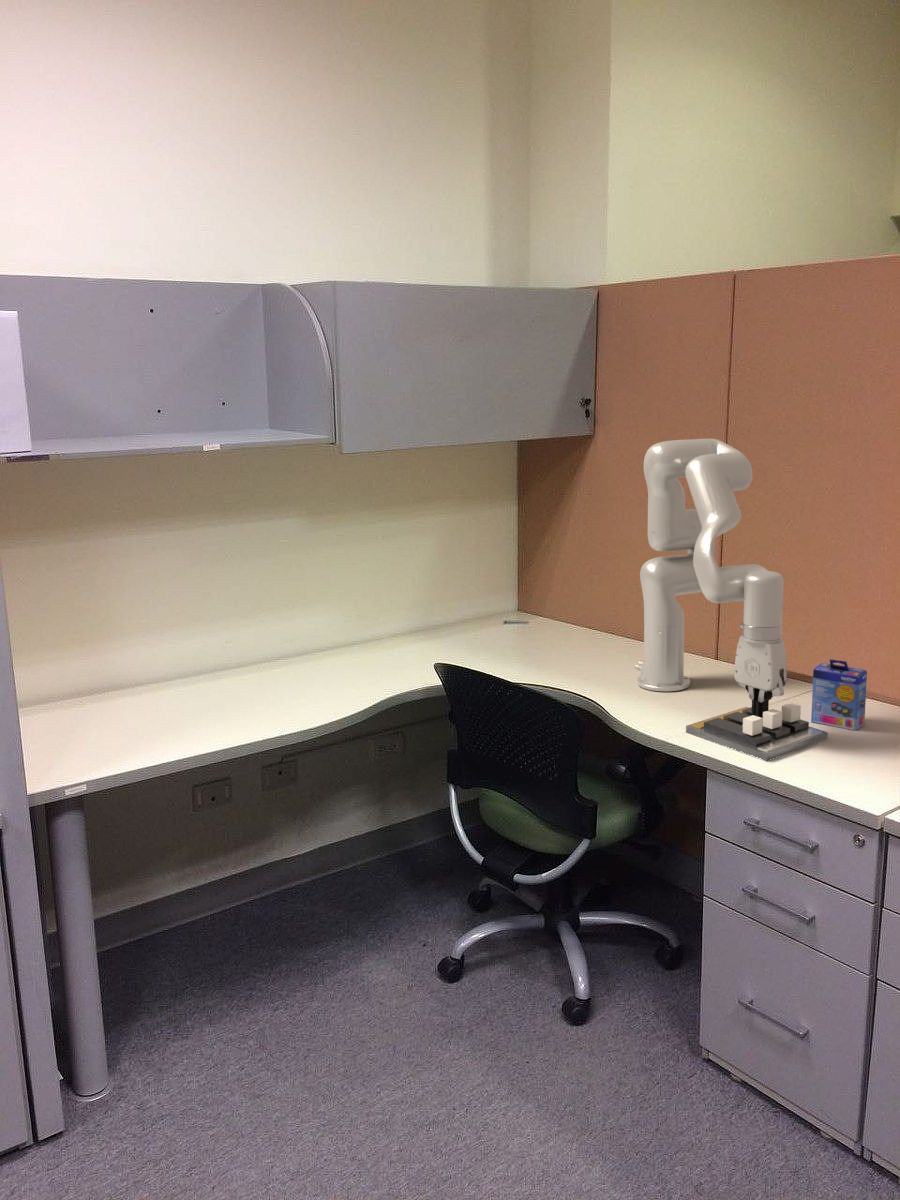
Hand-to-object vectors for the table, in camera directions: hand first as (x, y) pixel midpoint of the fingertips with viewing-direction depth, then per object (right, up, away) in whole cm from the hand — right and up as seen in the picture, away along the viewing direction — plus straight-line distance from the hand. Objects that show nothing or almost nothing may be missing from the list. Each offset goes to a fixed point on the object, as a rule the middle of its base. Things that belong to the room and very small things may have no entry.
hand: (759, 717), depth 209 cm
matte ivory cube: (+2, -1, -2) cm, 3 cm away
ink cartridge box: (+19, -2, +7) cm, 20 cm away
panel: (0, -4, +2) cm, 4 cm away
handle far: (+7, 0, +1) cm, 7 cm away
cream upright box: (-3, -2, -5) cm, 7 cm away
